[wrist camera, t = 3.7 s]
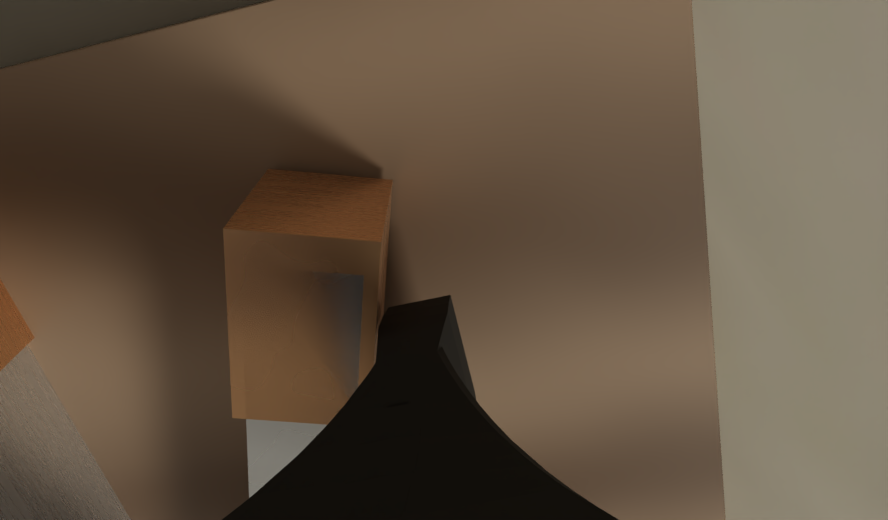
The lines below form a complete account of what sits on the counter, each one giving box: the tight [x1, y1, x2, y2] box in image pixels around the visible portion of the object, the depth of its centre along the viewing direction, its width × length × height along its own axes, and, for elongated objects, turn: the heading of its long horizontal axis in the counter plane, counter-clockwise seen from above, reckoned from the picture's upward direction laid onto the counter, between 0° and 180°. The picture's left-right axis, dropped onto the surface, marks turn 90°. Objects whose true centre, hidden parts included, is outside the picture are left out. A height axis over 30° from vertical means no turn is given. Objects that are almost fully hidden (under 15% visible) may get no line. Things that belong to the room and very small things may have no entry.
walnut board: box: [0, 0, 725, 520], centre depth 15 cm, size 19×24×2 cm
